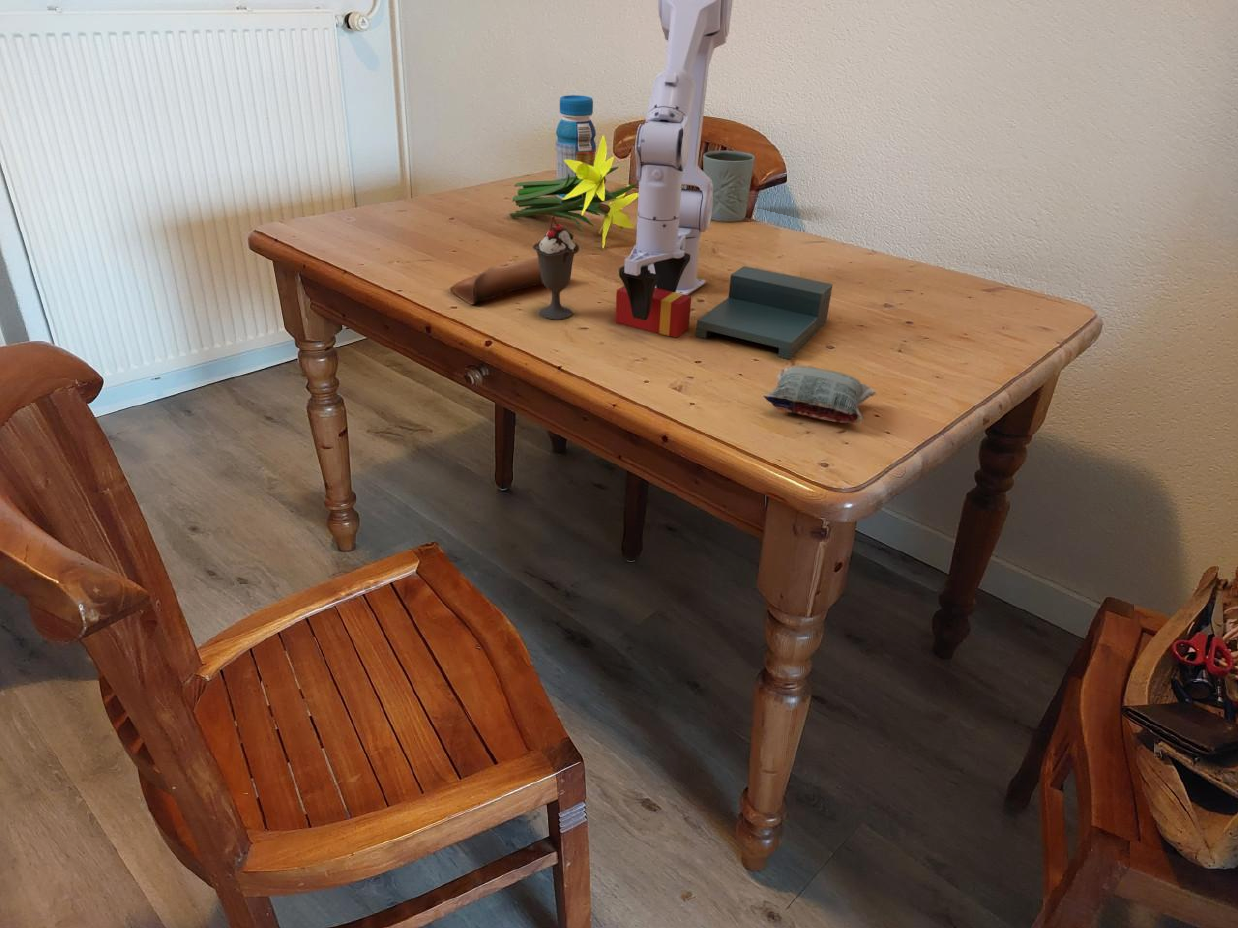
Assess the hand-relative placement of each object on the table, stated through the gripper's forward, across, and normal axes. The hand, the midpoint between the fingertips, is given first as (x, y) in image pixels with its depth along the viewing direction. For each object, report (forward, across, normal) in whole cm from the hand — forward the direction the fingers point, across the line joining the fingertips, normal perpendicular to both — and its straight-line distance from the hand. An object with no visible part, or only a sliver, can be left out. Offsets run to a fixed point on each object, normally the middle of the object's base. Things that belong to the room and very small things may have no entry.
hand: (652, 310), depth 125 cm
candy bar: (+2, 0, 0) cm, 2 cm away
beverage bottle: (+2, +54, +47) cm, 72 cm away
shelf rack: (+2, +8, -14) cm, 16 cm away
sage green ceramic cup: (+2, +60, +15) cm, 62 cm away
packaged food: (+3, -12, -29) cm, 31 cm away
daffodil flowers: (+2, +31, +35) cm, 47 cm away
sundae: (+3, -4, +14) cm, 15 cm away
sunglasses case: (+3, +1, +26) cm, 26 cm away
